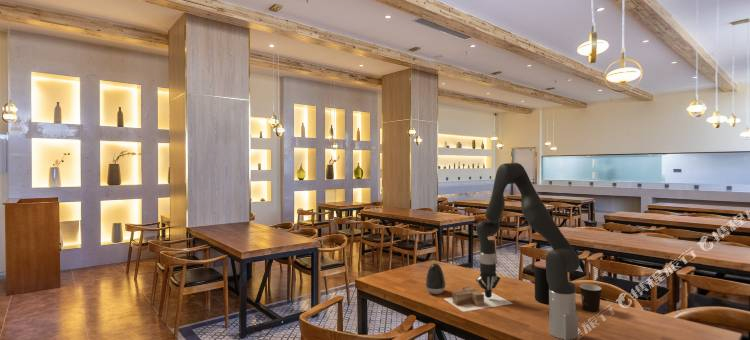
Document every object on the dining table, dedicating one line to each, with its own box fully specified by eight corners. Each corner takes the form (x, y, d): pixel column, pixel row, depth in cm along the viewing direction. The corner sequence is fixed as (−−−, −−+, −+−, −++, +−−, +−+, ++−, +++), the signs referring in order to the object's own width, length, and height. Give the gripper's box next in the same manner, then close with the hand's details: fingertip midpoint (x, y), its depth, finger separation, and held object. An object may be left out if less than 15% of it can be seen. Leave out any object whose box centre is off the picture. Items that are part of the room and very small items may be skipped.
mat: (513, 304, 183) (512, 303, 183) (462, 312, 175) (462, 311, 174) (490, 292, 200) (489, 291, 200) (443, 299, 192) (443, 298, 192)
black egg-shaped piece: (422, 294, 199) (422, 265, 199) (429, 288, 208) (429, 260, 208) (441, 297, 194) (441, 267, 194) (448, 291, 204) (447, 262, 203)
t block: (484, 304, 182) (483, 294, 182) (461, 308, 178) (461, 297, 178) (470, 296, 193) (469, 286, 193) (448, 299, 190) (448, 289, 189)
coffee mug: (601, 314, 169) (601, 291, 169) (579, 310, 174) (579, 288, 173) (602, 305, 179) (602, 284, 179) (581, 302, 184) (580, 281, 183)
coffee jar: (561, 306, 180) (561, 267, 179) (537, 305, 182) (536, 266, 181) (555, 298, 190) (555, 261, 190) (532, 297, 192) (532, 260, 192)
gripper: (480, 265, 183) (481, 301, 183) (504, 262, 188) (504, 297, 188) (471, 261, 190) (472, 296, 191) (494, 258, 195) (494, 292, 195)
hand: (488, 297), depth 189 cm, fingers closed
